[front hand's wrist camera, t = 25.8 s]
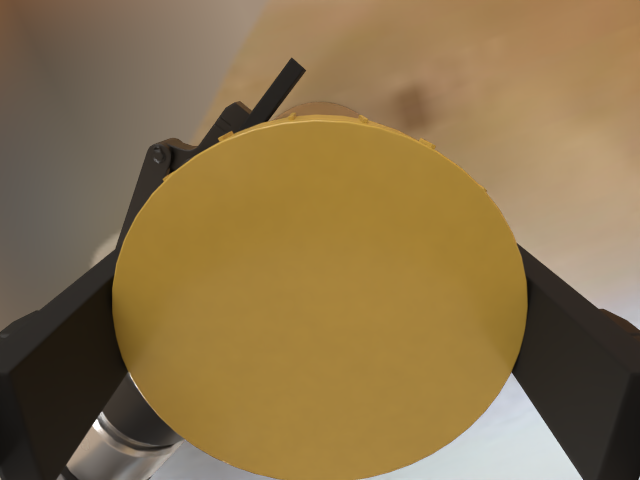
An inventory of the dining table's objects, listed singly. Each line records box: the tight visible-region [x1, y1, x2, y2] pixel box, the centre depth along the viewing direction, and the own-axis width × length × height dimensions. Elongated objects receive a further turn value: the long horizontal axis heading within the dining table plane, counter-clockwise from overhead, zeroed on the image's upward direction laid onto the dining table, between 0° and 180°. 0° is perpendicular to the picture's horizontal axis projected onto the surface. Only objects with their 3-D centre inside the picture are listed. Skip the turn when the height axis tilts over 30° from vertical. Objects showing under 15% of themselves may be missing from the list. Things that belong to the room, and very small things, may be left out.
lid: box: [112, 113, 528, 480], centre depth 11 cm, size 10×10×2 cm
